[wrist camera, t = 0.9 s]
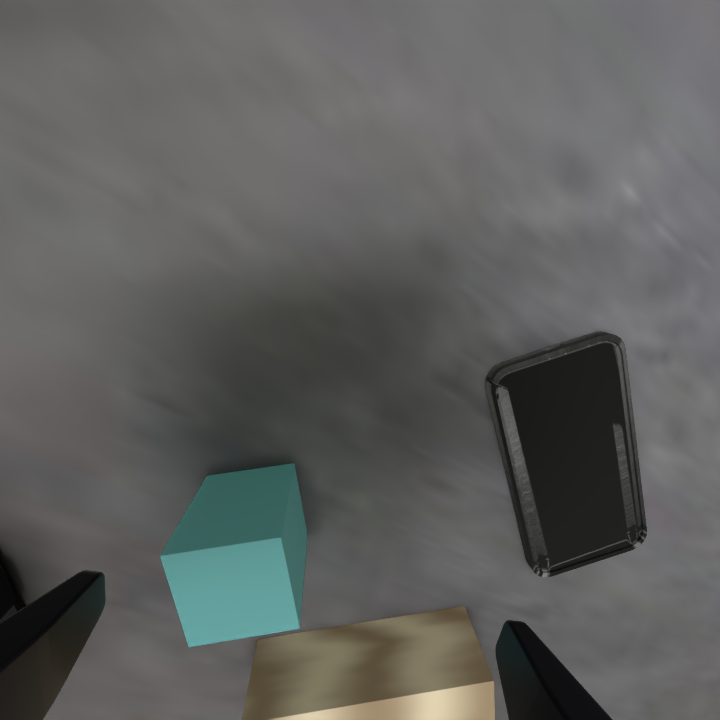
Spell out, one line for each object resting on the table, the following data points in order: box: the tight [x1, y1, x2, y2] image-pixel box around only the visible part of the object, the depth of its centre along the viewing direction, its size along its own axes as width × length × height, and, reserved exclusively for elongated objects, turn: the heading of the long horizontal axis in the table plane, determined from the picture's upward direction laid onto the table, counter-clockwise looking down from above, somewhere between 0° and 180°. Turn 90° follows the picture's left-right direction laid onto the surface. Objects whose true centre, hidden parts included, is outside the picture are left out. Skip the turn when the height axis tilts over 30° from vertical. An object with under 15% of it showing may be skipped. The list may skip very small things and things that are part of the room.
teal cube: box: [160, 463, 308, 647], centre depth 19 cm, size 5×5×6 cm
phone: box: [486, 332, 647, 577], centre depth 22 cm, size 8×1×15 cm
